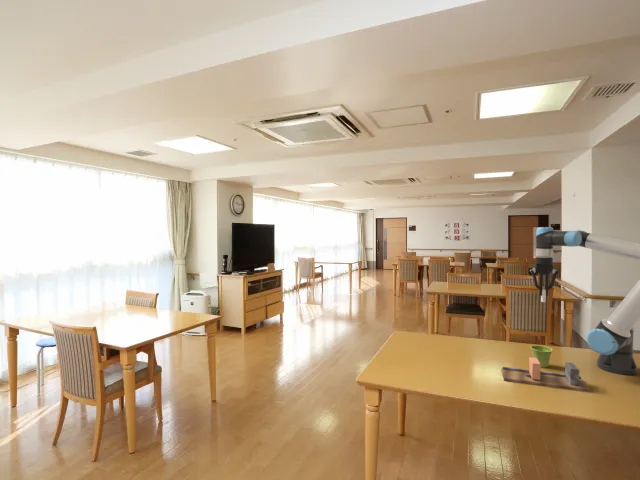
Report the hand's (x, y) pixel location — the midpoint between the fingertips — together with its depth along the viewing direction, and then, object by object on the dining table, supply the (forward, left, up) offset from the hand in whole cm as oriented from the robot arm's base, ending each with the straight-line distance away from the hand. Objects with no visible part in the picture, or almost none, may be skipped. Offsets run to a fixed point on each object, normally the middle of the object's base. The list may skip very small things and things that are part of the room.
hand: (543, 301), depth 189 cm
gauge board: (+6, +33, -29) cm, 45 cm away
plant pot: (+3, +13, -30) cm, 32 cm away
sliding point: (+9, +33, -28) cm, 44 cm away
